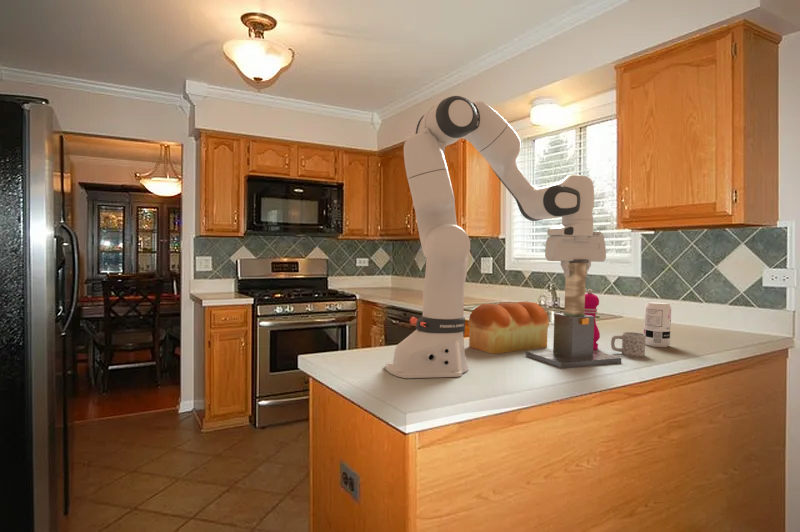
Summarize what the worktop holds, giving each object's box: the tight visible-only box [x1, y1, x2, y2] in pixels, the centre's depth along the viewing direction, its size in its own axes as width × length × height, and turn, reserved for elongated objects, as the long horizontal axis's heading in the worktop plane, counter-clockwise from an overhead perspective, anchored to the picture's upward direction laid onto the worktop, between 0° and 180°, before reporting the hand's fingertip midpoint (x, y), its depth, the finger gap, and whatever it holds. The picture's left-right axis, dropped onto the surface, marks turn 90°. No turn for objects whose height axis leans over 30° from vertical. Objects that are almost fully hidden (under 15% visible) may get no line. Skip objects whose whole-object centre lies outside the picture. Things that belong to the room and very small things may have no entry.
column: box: [563, 259, 589, 316], centre depth 148 cm, size 5×5×21 cm
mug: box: [610, 331, 646, 358], centre depth 158 cm, size 10×7×7 cm
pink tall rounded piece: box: [584, 288, 601, 351], centre depth 165 cm, size 7×7×20 cm
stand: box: [525, 312, 622, 369], centre depth 148 cm, size 22×16×14 cm
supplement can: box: [643, 301, 672, 348], centre depth 173 cm, size 8×8×15 cm
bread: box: [467, 301, 550, 355], centre depth 165 cm, size 25×12×15 cm, turn 122°
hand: (575, 276), depth 147 cm, fingers closed on column, 4 cm apart
